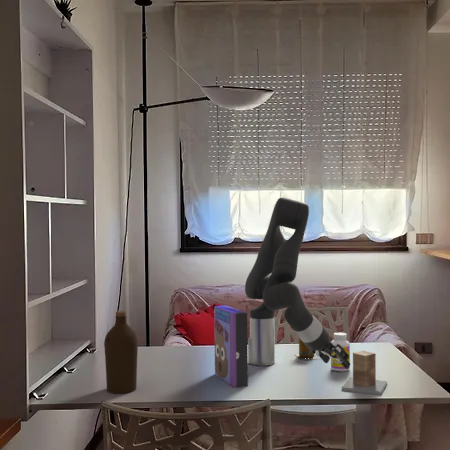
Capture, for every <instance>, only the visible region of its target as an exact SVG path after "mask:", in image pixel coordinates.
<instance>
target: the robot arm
mask: <svg viewBox="0 0 450 450" xmlns="http://www.w3.org/2000/svg"><path fill="white" fill-rule="evenodd" d="M273 206H274V207H273V209H272V213H271V217H270V220H269V223H268V227H267V231H266V232H265V236H264V238H263V240H262V242H261V244H260V247H259V250H258V252H257V256H256V259H255V262H254V264H253V266H252V268H251V270H250V272H249V274H248V275H247V277H246V279H245V285H244V292H245V295H246V297H247V298H248V299H250V300H262V302H261V303H260V304H259V305H257V306H255V307H253V308H251V309H250V310H249V337H247V349H248V364H251V365H255V366H263V367H264V366H270V365H272V366H273V365H274V364H275V362H276V360H275V359H276V358H275V357H276V356H275V354H276V352H275V351H276V350H275V349H276V347H275V344H276V342H275V340H276V339H275V336H276V335H275V311H279V310H283V309H285V308H286V309H285V310H284V312H283V316H284V320H285V321H286V322H287V323H288V325H289V326H290V327H291V328H292V329H293V331H294V332H295V334H296V335H297V337H298V339H299V338H300V339H301V340H302V341H303V342H304V344H305V345H306V347H307V348H308V349H309V350H310V352H311V353H312V354H314V355H315V356H316V357H318V358H320V360H321V361H323V363H325V364H328V363H329V361H331V358H332V359H336V360H337V361H339V362H340V363H341V364H342V366H343V367H344V368H345V369H348V368H349V366H350V367H351V361H350V362H349V361H348V360H347V359H348V358H349V355H348V354H347V352H346V351H345V350H344V349H343V348H342V347H341V346H340V345H339V344H337V345H336V346H334V345H333V343H332V341H330V333H329V331H327V330H326V329H325V327H324V326H323V325H322V324H321V322H320V321H319V320H318V319H317V317H315V315H313V313H312V312H311V311H310V310H309V309H308V307H306V304H305V301H304V300H303V297H302V295H301V292H300V290H299V287H298V286H297V285H296V284H295V283H293V282H294V280H295V279H296V277H297V272H298V270H297V269H298V261H299V255H300V251H301V248H302V243H303V241H304V238H305V237H304V236H305V232H306V228H307V225H308V221H309V214H310V207H309V204H308V203H306V202H304V201H300V200H297V199H292V198H290V197H289V198H288V197H282V196H281V197H279V198H278V199H277V200H276V201H275V204H274V205H273ZM281 227H283V228H288V229H292V230H294V232H293V234H292V235H291V236H290V237H289V238H288V239H287V240H286V239H285V237H284V235H283V233H282V230H281ZM333 351H334V353H335V354H334V356H333V355H331V354H332V353H333ZM337 356H338V357H339V358H340V359H339V358H338V357H337Z"/></svg>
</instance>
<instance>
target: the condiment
mask: <svg viewBox="0 0 450 450" xmlns="http://www.w3.org/2000/svg"><path fill="white" fill-rule="evenodd" d="M295 356H296V357H297V358H299V359H301V360H305V361H306V360H307V361H310V359H311V358H312V359H311V360H313V357H314V356H315V354H312V353H311V352H310V350H309V349H308V348H307V347H306V345H305V344H304V342H303V341H302V340H301V339H300V338H299V337H298V353H297V354H295ZM305 358H306V359H305ZM308 358H309V359H308ZM316 358H319V356H316ZM316 358H314V360H317V359H316Z"/></svg>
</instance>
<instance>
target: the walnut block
mask: <svg viewBox="0 0 450 450" xmlns="http://www.w3.org/2000/svg"><path fill="white" fill-rule="evenodd" d="M376 357H377V356H376V353H375V352H370V351H366V350H360V351H355V352H352V378H353V384H355V385H358V386H362V387H369V386H373V385H376V380H377V379H376V376H377V375H376V374H377V373H376V370H377V368H376V366H377V365H376V363H377V362H376Z"/></svg>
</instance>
